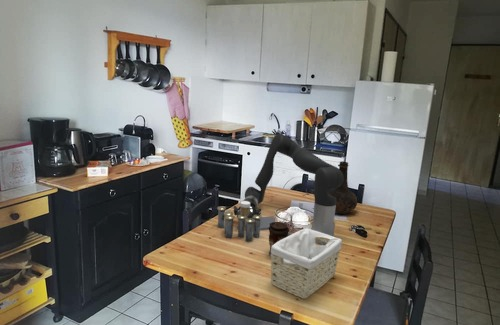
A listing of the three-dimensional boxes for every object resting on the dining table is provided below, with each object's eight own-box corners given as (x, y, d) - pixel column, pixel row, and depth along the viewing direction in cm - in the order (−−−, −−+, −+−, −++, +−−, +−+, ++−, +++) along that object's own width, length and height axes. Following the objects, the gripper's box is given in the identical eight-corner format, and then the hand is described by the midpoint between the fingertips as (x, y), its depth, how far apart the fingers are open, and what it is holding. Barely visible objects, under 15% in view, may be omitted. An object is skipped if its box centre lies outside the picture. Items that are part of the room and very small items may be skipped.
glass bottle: (358, 209, 207) (364, 161, 201) (353, 219, 191) (359, 167, 185) (326, 204, 214) (331, 157, 208) (319, 213, 198) (324, 162, 192)
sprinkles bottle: (246, 232, 168) (248, 204, 165) (237, 230, 170) (238, 202, 167) (250, 228, 172) (251, 201, 169) (241, 227, 174) (242, 200, 171)
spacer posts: (264, 240, 161) (266, 220, 158) (229, 244, 155) (230, 223, 153) (247, 222, 180) (248, 204, 178) (215, 225, 174) (216, 206, 172)
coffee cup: (262, 251, 150) (264, 221, 148) (280, 248, 154) (282, 219, 151) (272, 261, 143) (274, 230, 140) (290, 258, 146) (293, 227, 143)
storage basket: (301, 261, 144) (305, 225, 141) (340, 276, 135) (344, 238, 131) (265, 285, 126) (268, 245, 123) (307, 304, 116) (311, 261, 113)
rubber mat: (284, 227, 176) (284, 225, 176) (259, 230, 171) (259, 228, 171) (272, 218, 188) (272, 216, 188) (249, 220, 183) (249, 218, 183)
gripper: (236, 196, 184) (228, 207, 167) (264, 199, 182) (259, 211, 165) (235, 210, 185) (228, 223, 169) (263, 213, 183) (258, 226, 167)
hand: (243, 217), depth 167 cm, fingers closed on sprinkles bottle, 4 cm apart
